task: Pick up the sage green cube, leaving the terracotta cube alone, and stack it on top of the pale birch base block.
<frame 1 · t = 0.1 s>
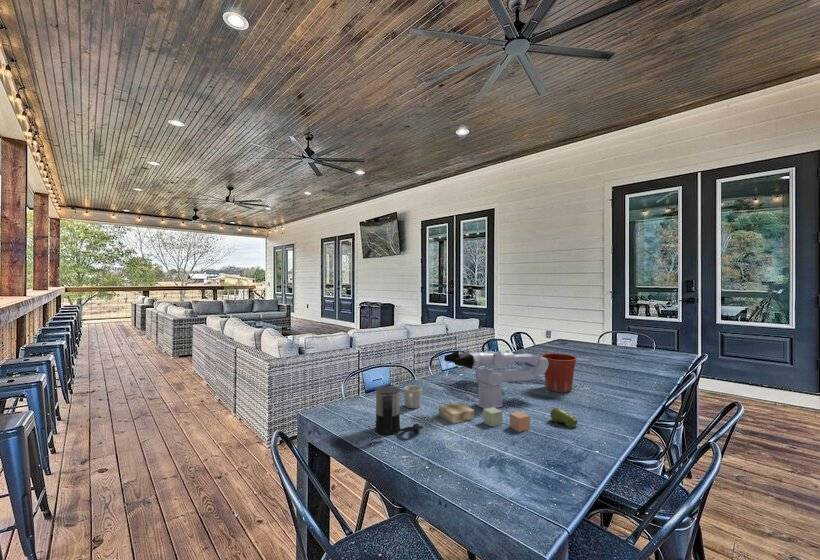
hand: (449, 359, 151), 22 cm above the table, tool horizontal, fingers open, 7 cm apart
cup: (412, 408, 157), on the table
pear: (563, 424, 141), on the table
milk frother: (398, 431, 134), on the table
base block: (456, 418, 147), on the table
flower pot: (558, 389, 184), on the table
sage cube: (492, 423, 141), on the table
terracotta cube: (519, 428, 136), on the table
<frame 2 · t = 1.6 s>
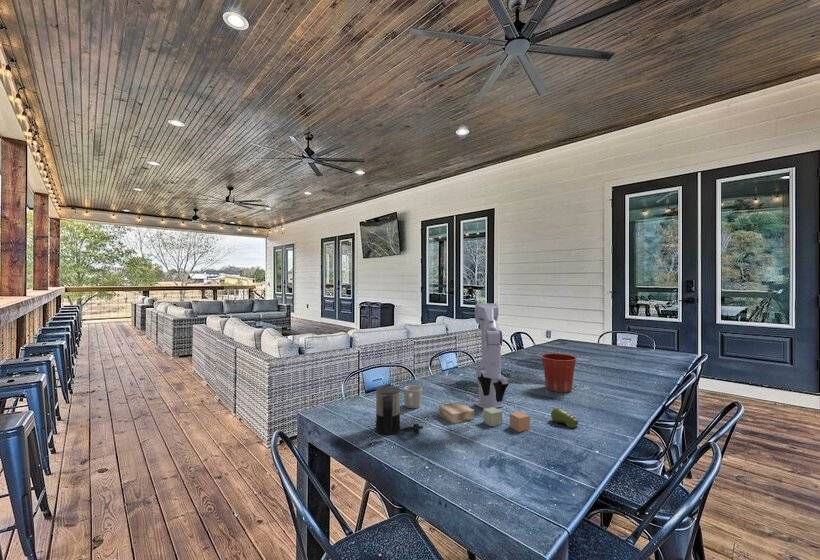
hand: (492, 398, 141), 9 cm above the table, tool pointing down, fingers open, 7 cm apart
nothing on the table moved.
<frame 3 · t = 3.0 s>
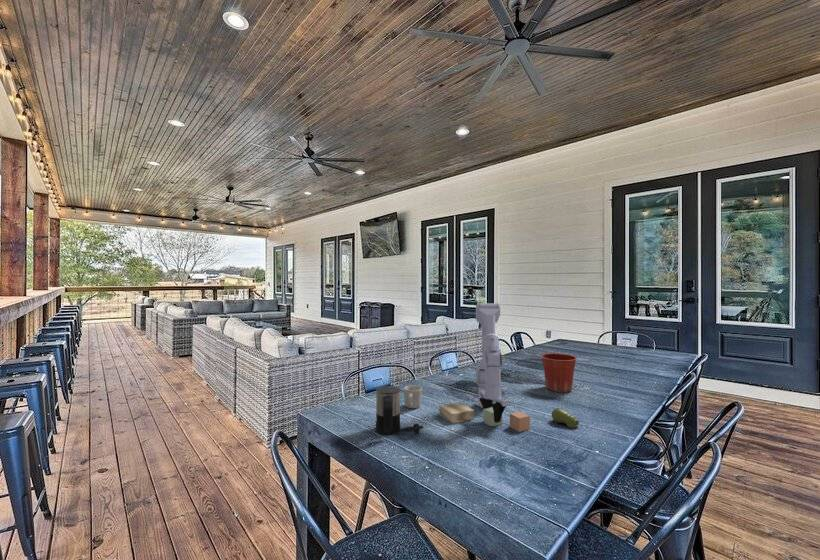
hand: (492, 419, 141), 1 cm above the table, tool pointing down, fingers closed on sage cube, 5 cm apart
sage cube: (492, 423, 141), on the table, touching gripper
everything else where it was.
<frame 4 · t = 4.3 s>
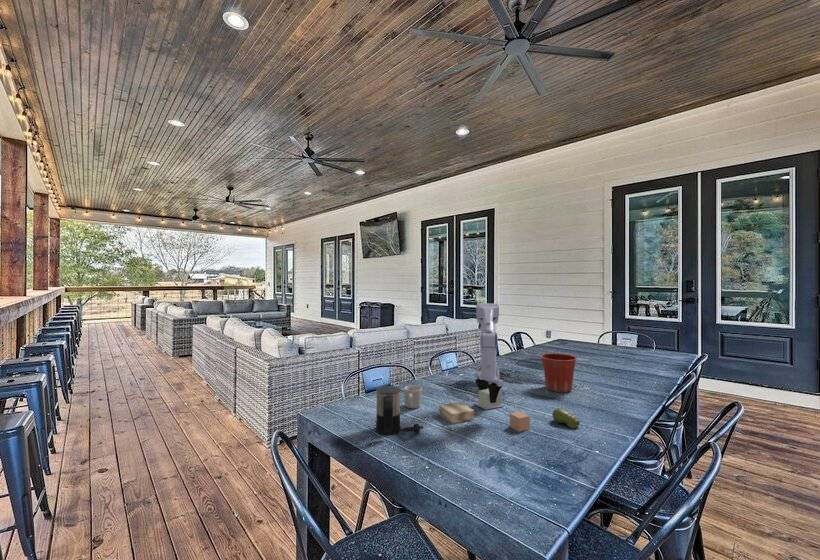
hand: (488, 400, 142), 8 cm above the table, tool pointing down, fingers closed on sage cube, 5 cm apart
sage cube: (488, 404, 142), point 7 cm above the table, touching gripper
everything else where it was.
when the fingers open (6 cm above the table, at t = 6.0 s): sage cube drops 1 cm, resting on base block.
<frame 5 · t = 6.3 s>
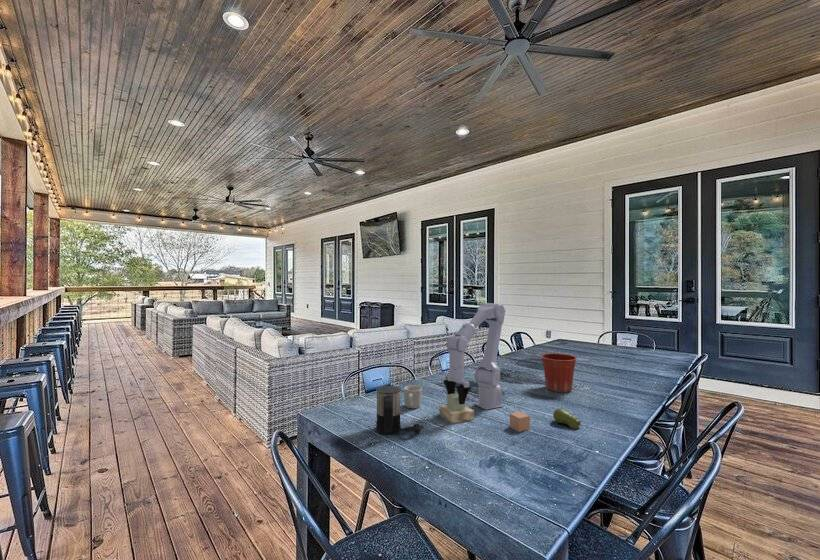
hand: (456, 400, 147), 6 cm above the table, tool pointing down, fingers open, 7 cm apart
base block: (456, 418, 147), on the table, touching sage cube
sage cube: (455, 408, 147), point 4 cm above the table, touching base block
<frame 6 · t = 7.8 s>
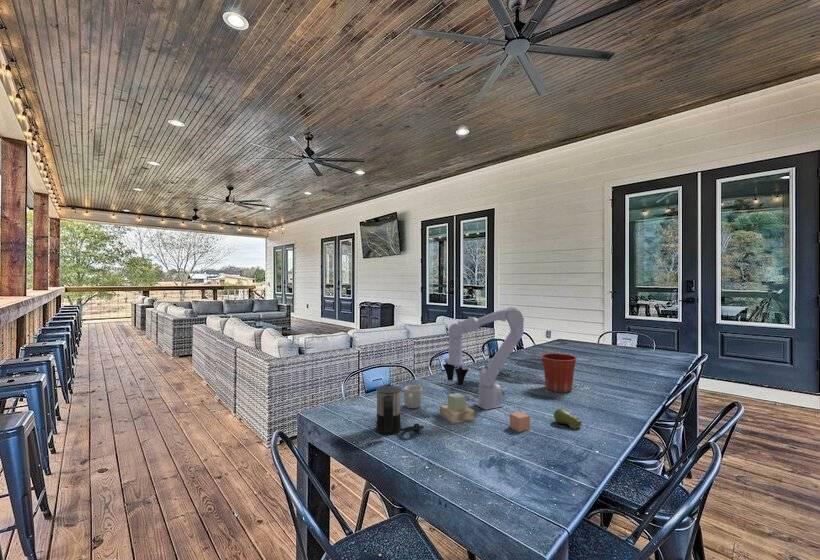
hand: (455, 382, 162), 9 cm above the table, tool pointing down, fingers open, 7 cm apart
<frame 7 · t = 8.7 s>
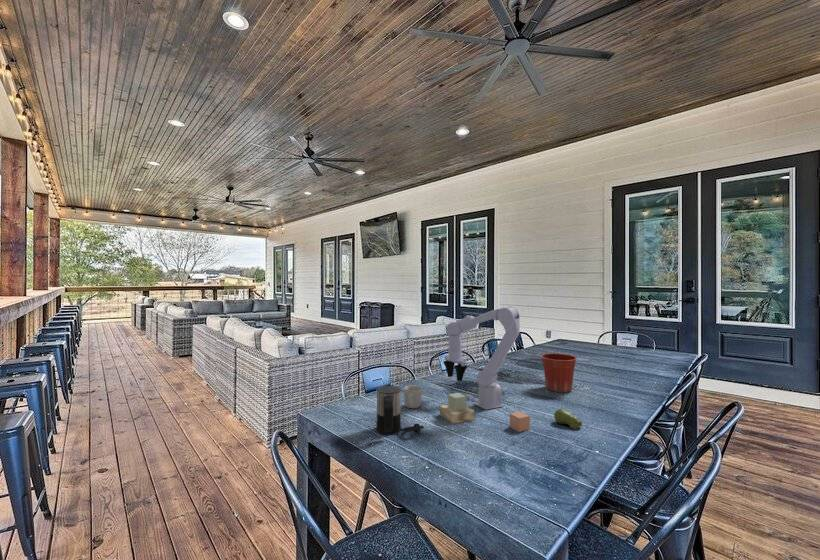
hand: (454, 378, 168), 9 cm above the table, tool pointing down, fingers open, 7 cm apart
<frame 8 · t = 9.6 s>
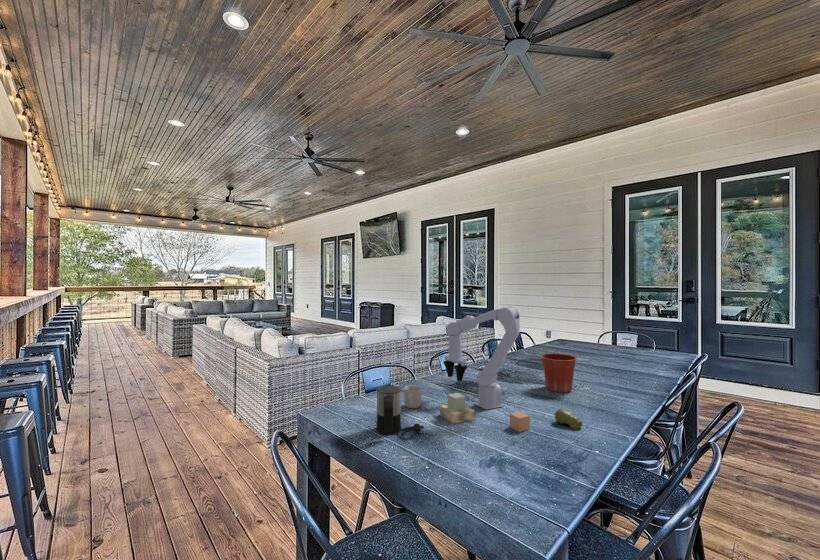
hand: (454, 378, 168), 9 cm above the table, tool pointing down, fingers open, 7 cm apart
base block: (457, 418, 147), on the table
sage cube: (456, 408, 147), point 4 cm above the table
at the end: sage cube 0.4 cm off-centre on the base block, point 4.0 cm above the base block's base; sage cube tilted 1°; the gripper is holding nothing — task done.
